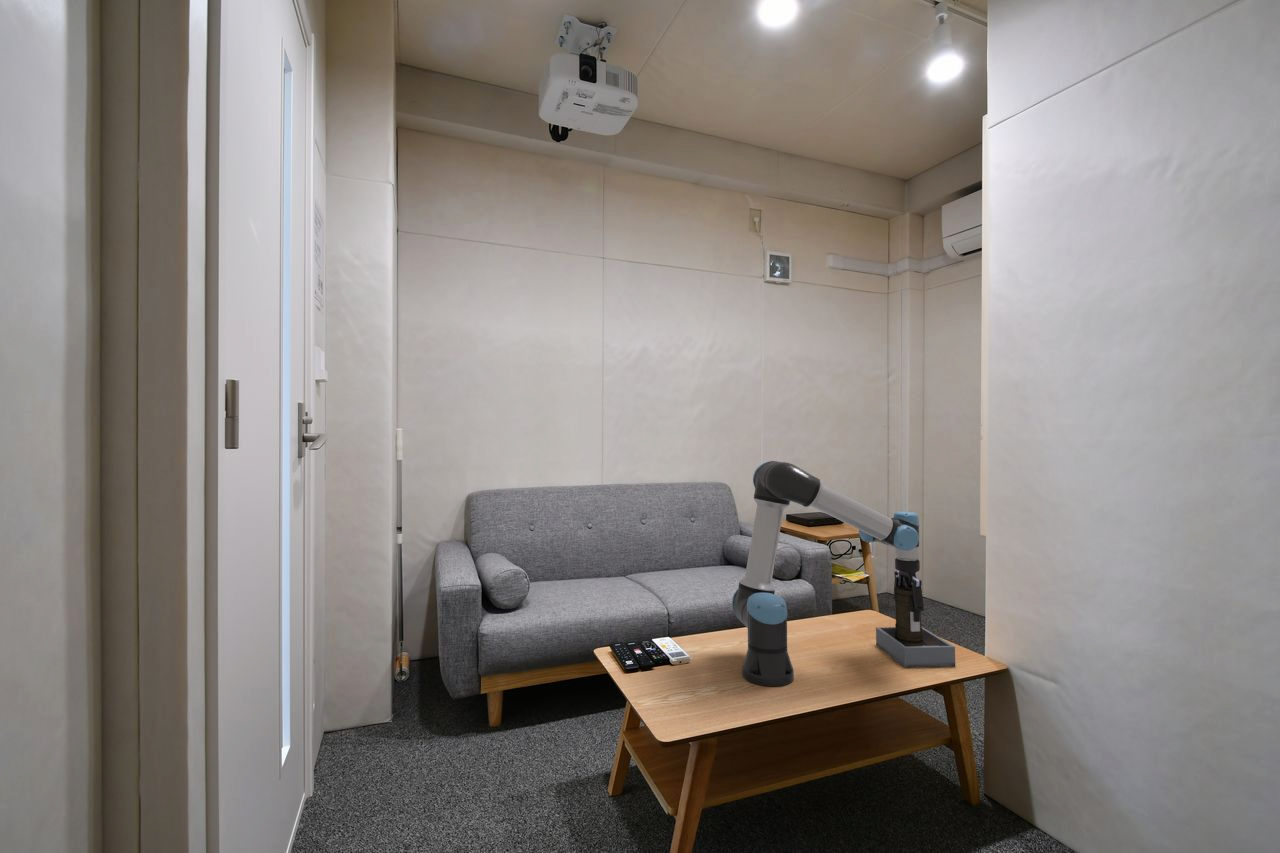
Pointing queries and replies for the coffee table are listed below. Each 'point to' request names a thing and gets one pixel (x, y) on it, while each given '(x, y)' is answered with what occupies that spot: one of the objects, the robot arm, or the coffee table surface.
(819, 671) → the coffee table surface
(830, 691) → the coffee table surface
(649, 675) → the coffee table surface
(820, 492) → the robot arm
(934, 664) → the walled box
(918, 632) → the container
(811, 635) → the coffee table surface
